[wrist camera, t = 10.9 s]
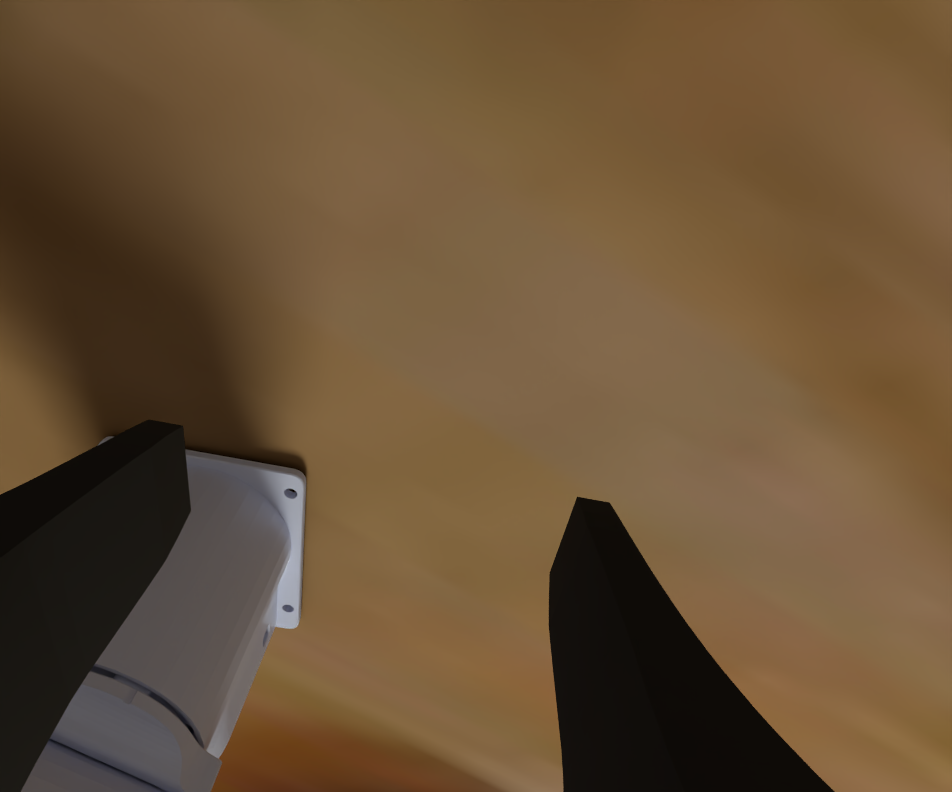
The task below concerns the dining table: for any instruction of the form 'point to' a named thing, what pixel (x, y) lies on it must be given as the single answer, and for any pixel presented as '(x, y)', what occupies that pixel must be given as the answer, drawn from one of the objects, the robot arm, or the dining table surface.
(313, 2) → the dining table surface
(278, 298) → the dining table surface
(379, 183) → the dining table surface
